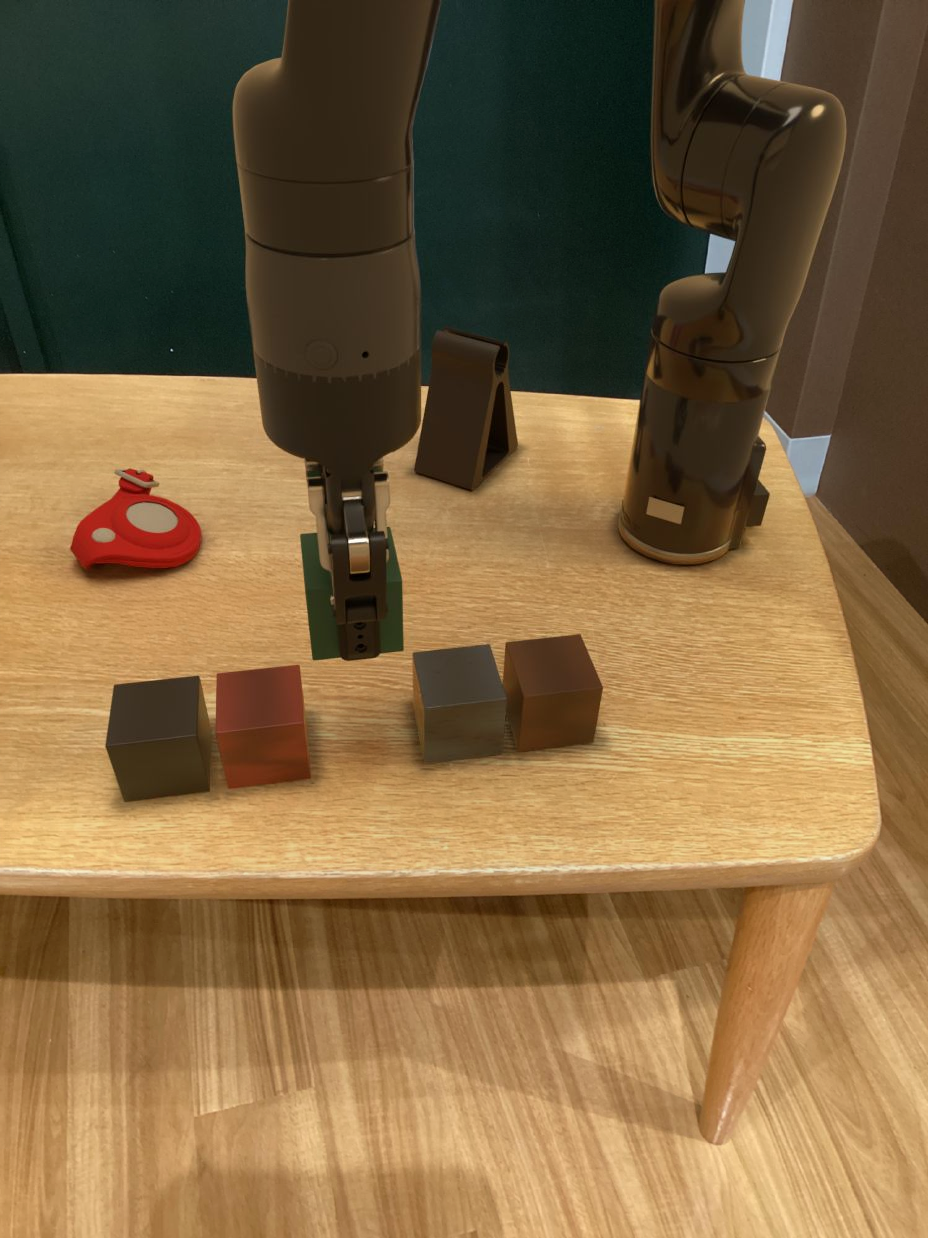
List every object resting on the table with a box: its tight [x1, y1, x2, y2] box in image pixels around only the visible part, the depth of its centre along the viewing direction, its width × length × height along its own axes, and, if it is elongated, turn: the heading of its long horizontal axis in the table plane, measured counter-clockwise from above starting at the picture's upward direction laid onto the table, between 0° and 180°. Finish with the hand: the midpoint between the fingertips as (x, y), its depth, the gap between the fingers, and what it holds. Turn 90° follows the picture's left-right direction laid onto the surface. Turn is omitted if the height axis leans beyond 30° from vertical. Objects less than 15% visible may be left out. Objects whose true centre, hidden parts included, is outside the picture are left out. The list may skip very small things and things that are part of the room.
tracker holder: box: [69, 468, 202, 570], centre depth 73 cm, size 12×4×10 cm
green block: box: [299, 526, 405, 661], centre depth 51 cm, size 5×5×5 cm
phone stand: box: [413, 325, 519, 491], centre depth 81 cm, size 9×6×12 cm, turn 150°
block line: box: [104, 633, 604, 803], centre depth 57 cm, size 29×5×5 cm, turn 101°
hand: (355, 621), depth 52 cm, fingers closed on green block, 5 cm apart
